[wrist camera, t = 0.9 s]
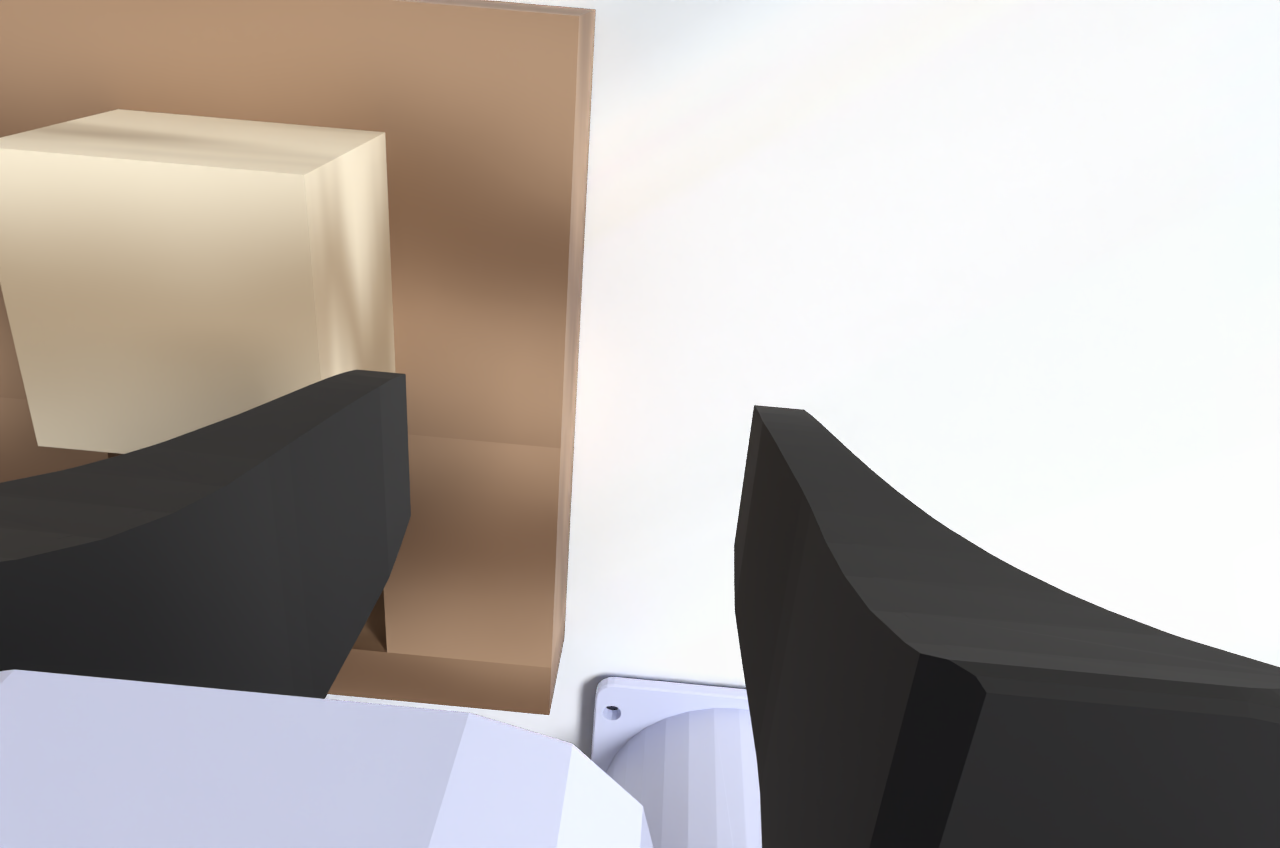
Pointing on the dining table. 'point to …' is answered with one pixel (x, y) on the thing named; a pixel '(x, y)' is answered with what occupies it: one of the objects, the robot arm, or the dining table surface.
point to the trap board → (395, 277)
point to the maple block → (188, 269)
